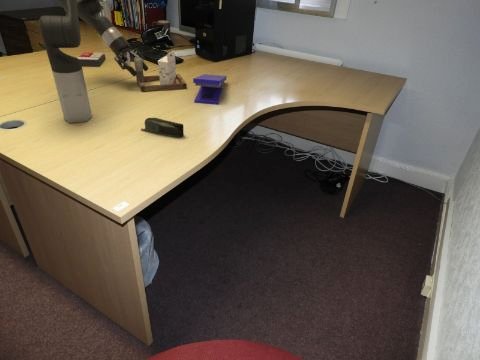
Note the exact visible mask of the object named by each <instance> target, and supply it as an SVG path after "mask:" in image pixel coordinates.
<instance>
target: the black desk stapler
mask: <svg viewBox="0 0 480 360" xmlns="http://www.w3.org/2000/svg"><path fill="white" fill-rule="evenodd" d="M140 131H143V132H149V133H154V134H158V135H164V136H168V137H172V138H182V137H184V134H185V133H184V124H183V123H178V122H176V121H175V122H174V121H171V120H166V119H162V118H159V117H147V118H146V119H145V120H144V128H143V127H142V128H141V129H140Z"/></svg>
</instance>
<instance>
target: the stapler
mask: <svg viewBox="0 0 480 360" xmlns="http://www.w3.org/2000/svg"><path fill="white" fill-rule="evenodd" d="M226 80H227V75H218V74H217V75H216V74H207V73H206V74H205V73H204V74H200V75H198V76H196V77H194V78H193V80H192V81H193V82H192V83H194V86H198V87H200V88H199V90H198V92H197V94H196V96H195V98H194V100H193V103H194V104H205V105H217V106H219V103H220V100H221V96H222V92H223V89H224V85H225V81H226Z"/></svg>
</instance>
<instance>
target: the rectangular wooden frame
mask: <svg viewBox="0 0 480 360" xmlns="http://www.w3.org/2000/svg"><path fill="white" fill-rule="evenodd" d="M133 63H134V70H135V71H136V72H137V75H136V76H135V77H136V78H135V79H136V82H137V84H138V86H139V89H140V91H141V92H149V91H150V92H151V91H164V90H165V91H167V90H179V89H181V90H182V89H187V87H188V86H187V85H188V84H187V82H186V81H185V80H184V78H183V77H182V76H181V74H180V73H179V74H178V73H177V74H176V81H178V82H179V83H175V84H164V85H160V84H152V85H144V82H152V81H160V78H159V74H157V75H144V70H143V65H142V58H141V57H135V58H134V62H133Z"/></svg>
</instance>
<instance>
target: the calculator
mask: <svg viewBox="0 0 480 360" xmlns="http://www.w3.org/2000/svg"><path fill="white" fill-rule="evenodd" d="M77 58H78V59H79V60H80V61H81V64H82V68H83V67H84V68H85V67H86V68H100V67H101V66H102V64H103V63H104V62H105V61H106V54H105V53H104V52H87V51H85V52H84V51H83V53H82V54H80V55H79V56H78V57H77Z"/></svg>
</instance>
